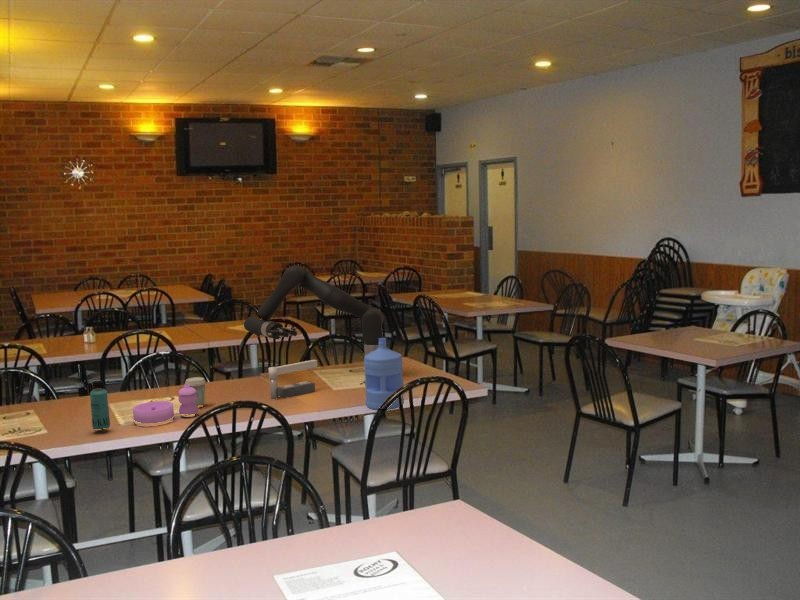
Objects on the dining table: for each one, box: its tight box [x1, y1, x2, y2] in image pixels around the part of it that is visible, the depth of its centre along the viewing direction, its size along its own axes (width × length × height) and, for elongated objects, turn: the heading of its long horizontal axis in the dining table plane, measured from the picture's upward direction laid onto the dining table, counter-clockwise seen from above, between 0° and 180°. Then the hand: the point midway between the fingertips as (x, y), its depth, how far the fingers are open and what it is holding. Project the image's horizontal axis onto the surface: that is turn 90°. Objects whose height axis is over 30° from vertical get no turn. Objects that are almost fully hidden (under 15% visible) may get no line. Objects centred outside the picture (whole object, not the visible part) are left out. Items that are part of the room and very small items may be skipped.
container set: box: [132, 383, 199, 423], centre depth 315 cm, size 25×15×13 cm, turn 116°
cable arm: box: [268, 359, 318, 380], centre depth 347 cm, size 24×4×4 cm, turn 129°
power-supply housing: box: [277, 380, 316, 399], centre depth 349 cm, size 16×6×4 cm, turn 129°
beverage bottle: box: [89, 379, 111, 429], centre depth 301 cm, size 6×7×20 cm
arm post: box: [269, 377, 279, 400], centre depth 342 cm, size 3×3×9 cm
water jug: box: [363, 337, 405, 411], centre depth 323 cm, size 16×16×28 cm
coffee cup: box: [184, 376, 207, 406], centre depth 333 cm, size 8×8×12 cm
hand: (291, 334), depth 350 cm, fingers open, 3 cm apart
